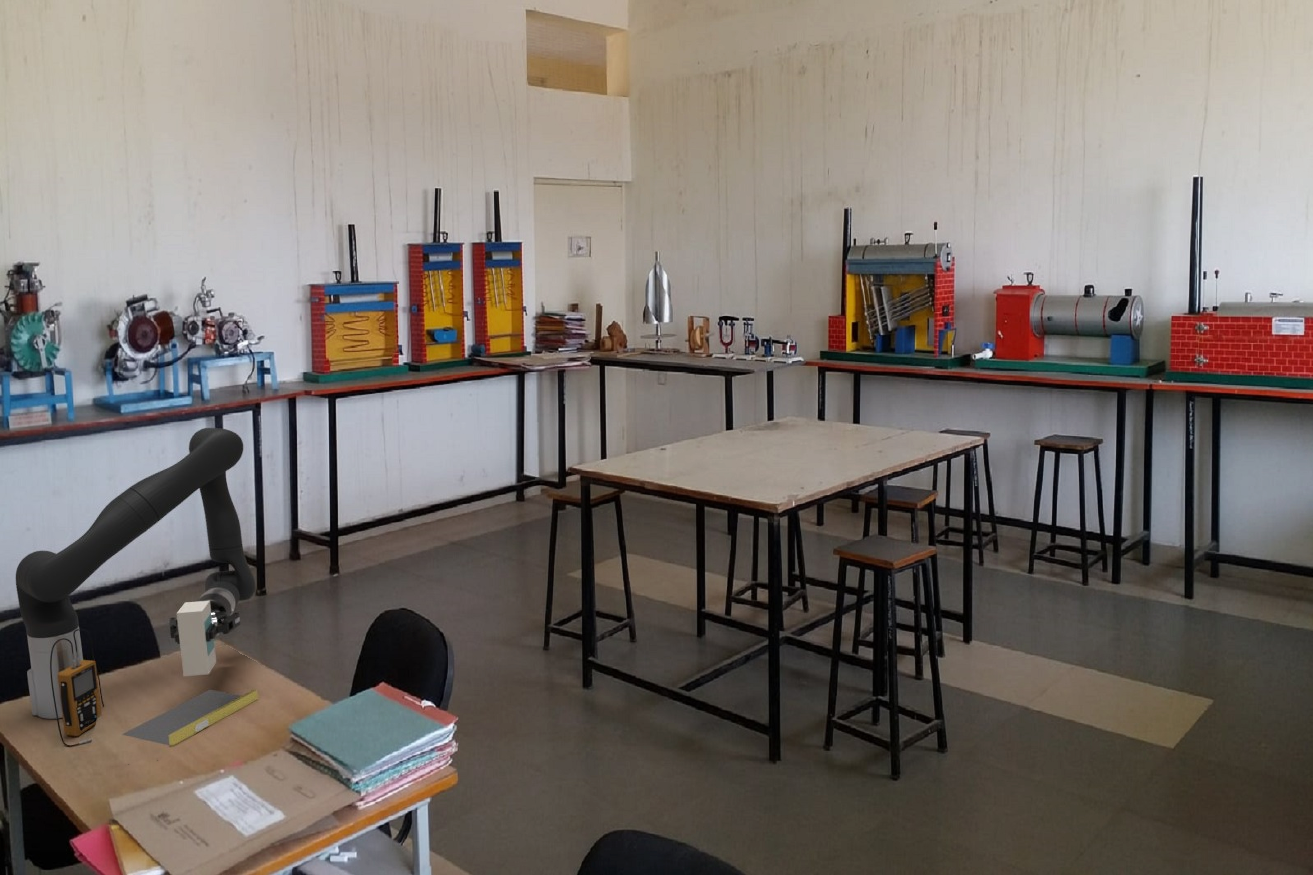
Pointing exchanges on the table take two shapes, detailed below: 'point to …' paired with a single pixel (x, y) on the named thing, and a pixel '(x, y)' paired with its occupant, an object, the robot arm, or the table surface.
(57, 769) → the table surface
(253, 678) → the table surface
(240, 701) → the shelf
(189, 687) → the table surface
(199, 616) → the carton
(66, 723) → the multimeter
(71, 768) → the table surface
